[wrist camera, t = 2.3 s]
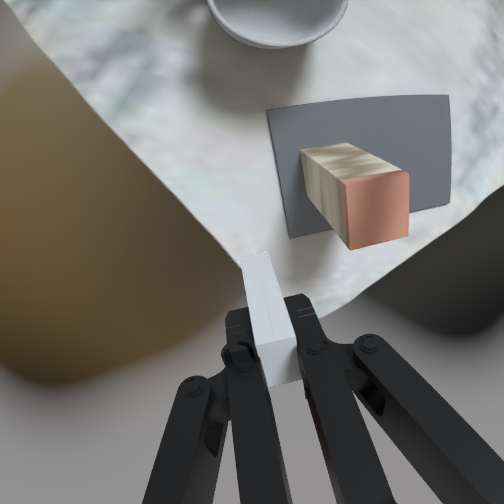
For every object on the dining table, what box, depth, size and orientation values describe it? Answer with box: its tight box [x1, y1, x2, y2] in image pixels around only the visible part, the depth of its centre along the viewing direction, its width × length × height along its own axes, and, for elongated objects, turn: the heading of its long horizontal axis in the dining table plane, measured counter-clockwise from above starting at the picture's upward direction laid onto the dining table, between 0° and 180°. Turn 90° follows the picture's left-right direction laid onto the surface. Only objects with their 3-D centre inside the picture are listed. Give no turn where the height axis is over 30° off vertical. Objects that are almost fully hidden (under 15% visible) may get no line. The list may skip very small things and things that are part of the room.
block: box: [300, 143, 409, 250], centre depth 26 cm, size 5×5×12 cm
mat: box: [267, 95, 451, 239], centre depth 31 cm, size 22×14×1 cm, turn 101°
